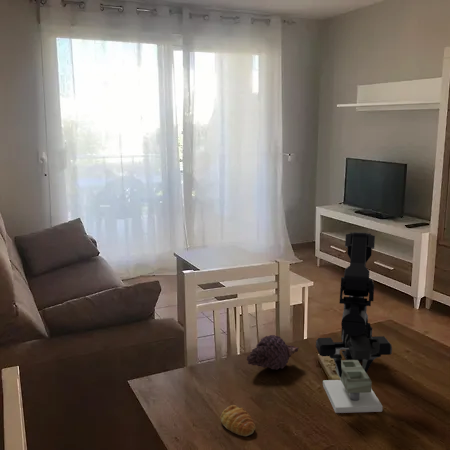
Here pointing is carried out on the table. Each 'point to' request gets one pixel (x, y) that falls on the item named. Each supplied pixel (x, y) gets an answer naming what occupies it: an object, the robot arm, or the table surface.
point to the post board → (350, 399)
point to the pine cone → (271, 353)
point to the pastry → (237, 420)
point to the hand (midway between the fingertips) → (351, 376)
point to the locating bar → (354, 377)
